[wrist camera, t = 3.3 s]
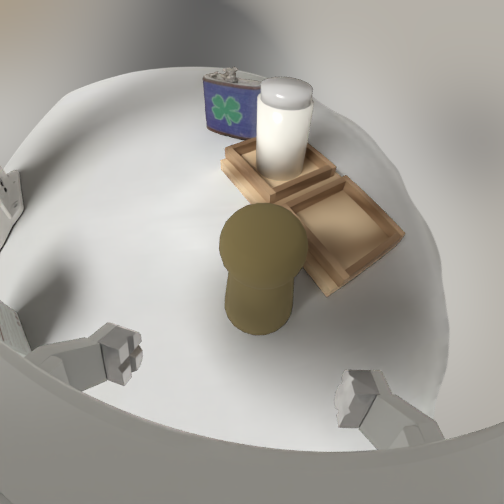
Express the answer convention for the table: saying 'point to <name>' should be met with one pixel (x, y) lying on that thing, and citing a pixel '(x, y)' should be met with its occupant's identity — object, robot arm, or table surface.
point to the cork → (261, 265)
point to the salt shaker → (283, 127)
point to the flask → (231, 104)
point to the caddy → (320, 213)
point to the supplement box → (12, 331)
